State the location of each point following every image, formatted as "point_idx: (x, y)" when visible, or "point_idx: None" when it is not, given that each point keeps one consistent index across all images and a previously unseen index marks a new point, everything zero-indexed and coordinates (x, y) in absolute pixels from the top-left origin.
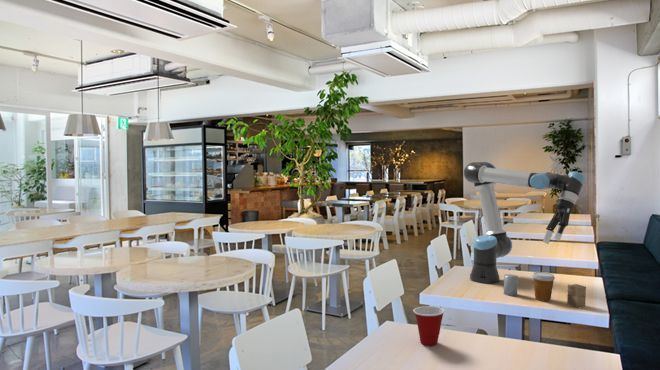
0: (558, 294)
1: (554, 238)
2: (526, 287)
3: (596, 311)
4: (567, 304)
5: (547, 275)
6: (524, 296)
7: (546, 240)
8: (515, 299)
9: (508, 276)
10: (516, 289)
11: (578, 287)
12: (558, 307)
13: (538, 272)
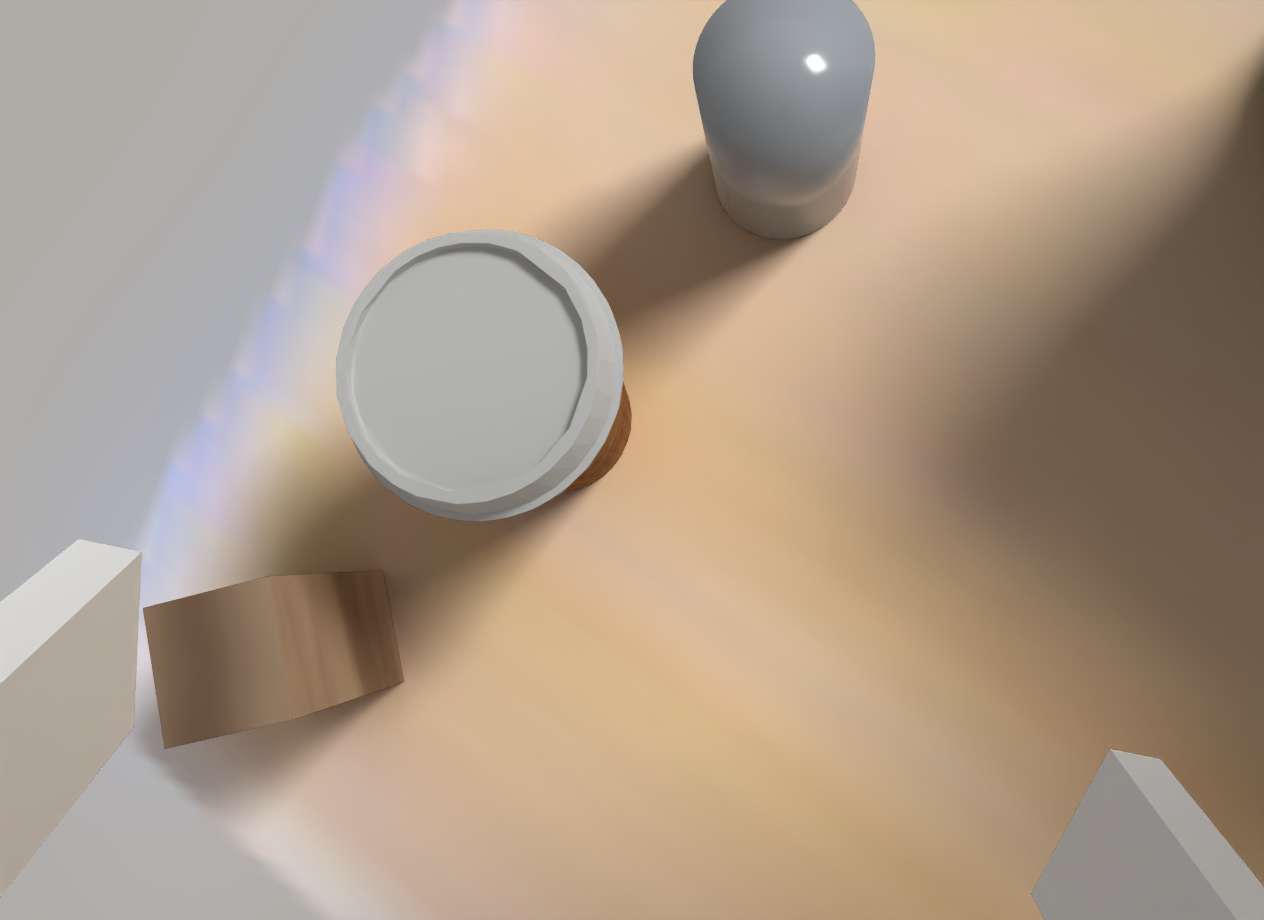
0: (721, 715)
1: (78, 557)
2: (1052, 501)
3: None
4: (380, 571)
5: (425, 402)
6: (689, 285)
7: (1114, 884)
8: (600, 143)
9: (749, 13)
10: (720, 184)
11: (153, 630)
12: (322, 430)
13: (589, 359)
